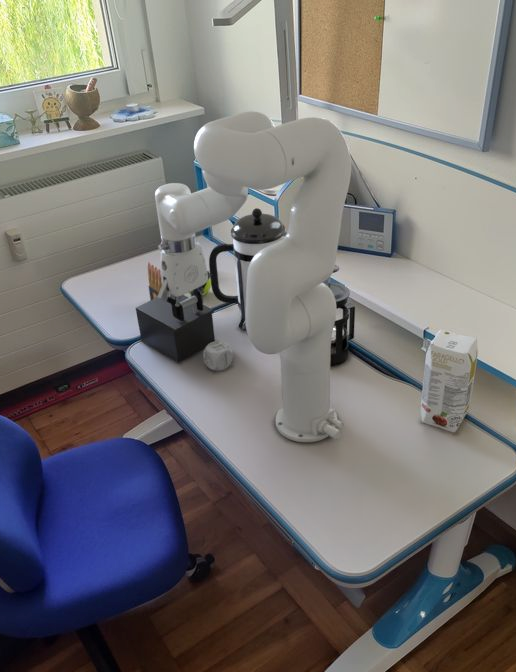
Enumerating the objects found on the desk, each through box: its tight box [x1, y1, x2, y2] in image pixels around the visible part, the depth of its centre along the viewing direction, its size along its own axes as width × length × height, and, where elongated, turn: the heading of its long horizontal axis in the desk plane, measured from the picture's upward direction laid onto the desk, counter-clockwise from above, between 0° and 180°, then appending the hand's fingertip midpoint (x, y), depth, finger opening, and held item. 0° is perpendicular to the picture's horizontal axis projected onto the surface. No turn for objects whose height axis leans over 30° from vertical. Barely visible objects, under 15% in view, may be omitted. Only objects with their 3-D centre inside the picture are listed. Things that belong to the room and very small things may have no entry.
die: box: [202, 340, 234, 372], centre depth 152 cm, size 5×5×5 cm
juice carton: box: [420, 328, 479, 433], centre depth 128 cm, size 8×9×19 cm
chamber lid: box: [135, 292, 215, 332], centre depth 156 cm, size 15×12×5 cm
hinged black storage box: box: [135, 310, 216, 364], centre depth 160 cm, size 15×12×9 cm
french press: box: [323, 264, 356, 368], centre depth 148 cm, size 12×9×23 cm
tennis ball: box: [188, 278, 212, 297], centre depth 180 cm, size 7×7×7 cm
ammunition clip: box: [147, 262, 169, 301], centre depth 173 cm, size 11×2×12 cm, turn 37°
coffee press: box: [208, 207, 288, 331], centre depth 160 cm, size 17×16×30 cm
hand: (188, 312), depth 153 cm, fingers closed on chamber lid, 5 cm apart
